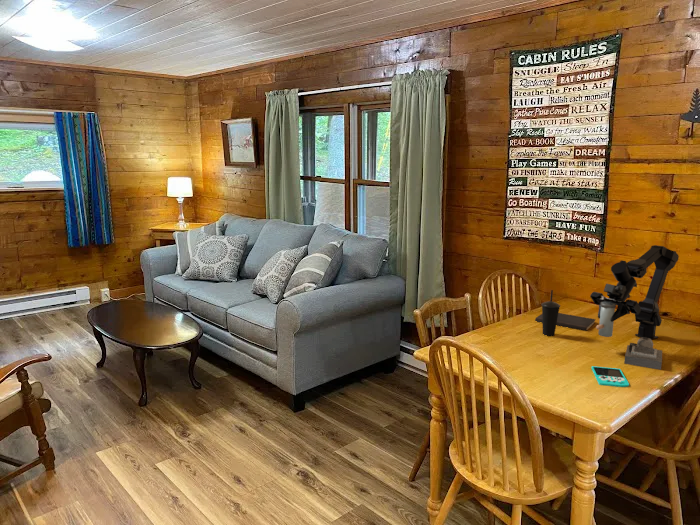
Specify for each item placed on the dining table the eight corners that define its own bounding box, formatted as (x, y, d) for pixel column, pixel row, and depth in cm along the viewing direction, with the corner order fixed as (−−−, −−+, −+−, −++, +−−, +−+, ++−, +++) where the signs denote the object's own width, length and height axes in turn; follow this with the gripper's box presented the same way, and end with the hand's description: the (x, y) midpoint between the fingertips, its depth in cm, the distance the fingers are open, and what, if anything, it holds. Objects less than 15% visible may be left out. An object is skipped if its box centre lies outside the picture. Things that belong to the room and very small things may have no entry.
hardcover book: (545, 315, 267) (546, 310, 266) (595, 323, 253) (595, 319, 253) (534, 322, 254) (535, 318, 254) (586, 332, 241) (586, 327, 240)
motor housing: (627, 347, 220) (629, 334, 219) (661, 353, 214) (663, 339, 213) (624, 363, 203) (625, 349, 202) (660, 369, 197) (662, 355, 196)
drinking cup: (538, 336, 234) (542, 291, 230) (539, 330, 240) (543, 287, 237) (557, 338, 231) (561, 293, 227) (558, 333, 238) (561, 289, 234)
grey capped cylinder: (602, 331, 218) (605, 300, 215) (615, 335, 214) (618, 303, 211) (590, 335, 214) (593, 303, 211) (603, 339, 209) (606, 306, 207)
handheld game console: (598, 386, 184) (598, 382, 183) (590, 368, 199) (590, 365, 199) (630, 389, 181) (630, 385, 181) (619, 371, 196) (620, 368, 196)
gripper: (594, 272, 220) (576, 302, 216) (640, 281, 204) (620, 313, 200) (604, 288, 225) (586, 318, 222) (649, 298, 210) (630, 330, 206)
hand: (604, 319), depth 212 cm, fingers closed on grey capped cylinder, 5 cm apart
